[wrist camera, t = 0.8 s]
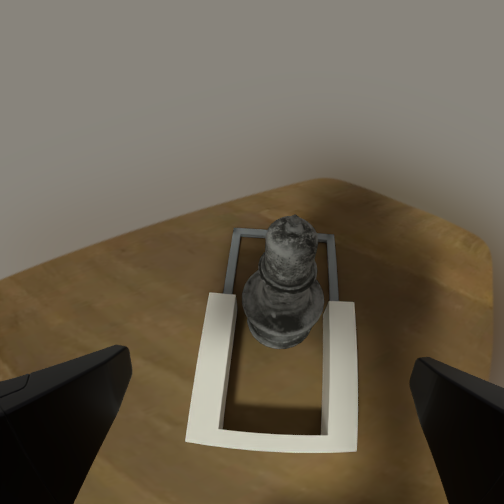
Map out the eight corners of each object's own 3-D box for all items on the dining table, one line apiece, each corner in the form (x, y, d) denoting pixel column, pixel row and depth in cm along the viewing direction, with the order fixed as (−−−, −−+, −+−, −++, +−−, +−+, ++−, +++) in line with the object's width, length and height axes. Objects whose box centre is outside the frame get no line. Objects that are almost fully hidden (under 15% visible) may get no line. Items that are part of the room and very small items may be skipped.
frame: (337, 308, 25) (338, 306, 25) (222, 300, 26) (222, 298, 26) (333, 237, 30) (334, 234, 30) (234, 230, 30) (234, 227, 30)
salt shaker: (284, 275, 27) (297, 163, 18) (330, 322, 25) (376, 224, 15) (228, 312, 25) (211, 208, 16) (274, 367, 23) (290, 289, 13)
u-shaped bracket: (346, 451, 18) (356, 451, 16) (192, 442, 19) (185, 441, 17) (346, 316, 25) (354, 301, 23) (213, 307, 26) (209, 292, 24)
